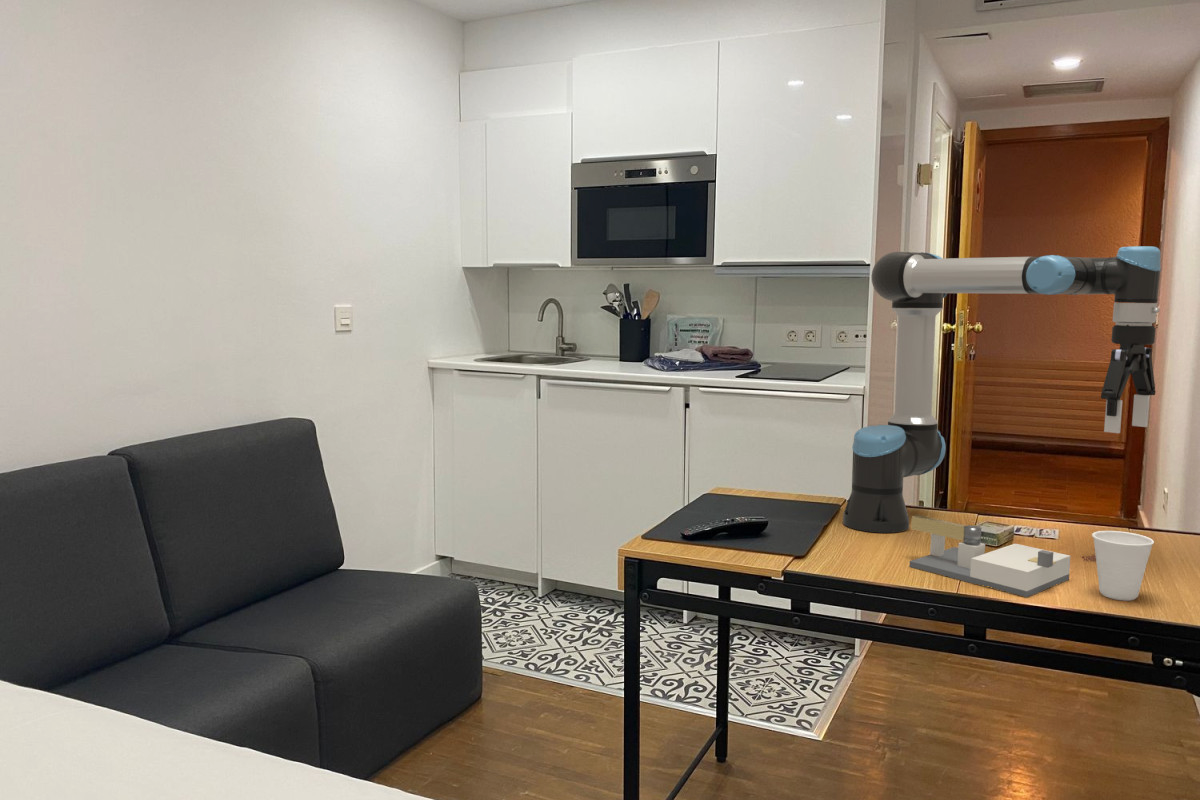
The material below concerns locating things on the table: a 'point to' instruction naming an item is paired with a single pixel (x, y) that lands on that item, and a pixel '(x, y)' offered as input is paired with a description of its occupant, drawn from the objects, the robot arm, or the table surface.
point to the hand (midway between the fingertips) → (1126, 429)
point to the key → (1090, 558)
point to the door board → (964, 573)
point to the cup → (1121, 562)
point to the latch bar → (947, 529)
